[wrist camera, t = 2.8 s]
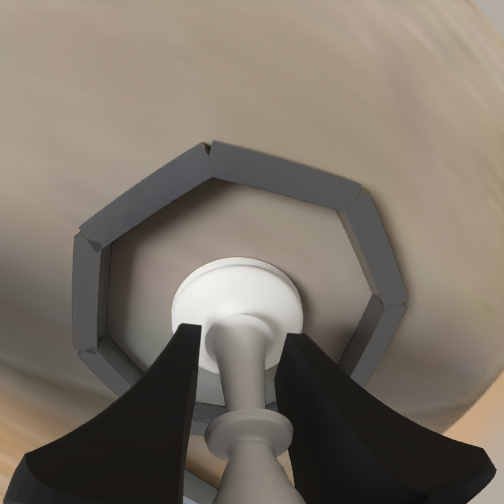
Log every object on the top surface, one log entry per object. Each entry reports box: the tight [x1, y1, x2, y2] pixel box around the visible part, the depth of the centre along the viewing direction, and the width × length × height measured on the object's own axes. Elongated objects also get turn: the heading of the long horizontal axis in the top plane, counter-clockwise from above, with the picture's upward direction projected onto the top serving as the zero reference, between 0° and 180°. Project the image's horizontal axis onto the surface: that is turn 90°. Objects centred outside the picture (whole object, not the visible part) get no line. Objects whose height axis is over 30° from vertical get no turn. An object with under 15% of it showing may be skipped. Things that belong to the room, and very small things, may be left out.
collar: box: [72, 140, 408, 436], centre depth 11 cm, size 12×12×1 cm
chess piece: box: [171, 257, 306, 504], centre depth 7 cm, size 5×5×10 cm
